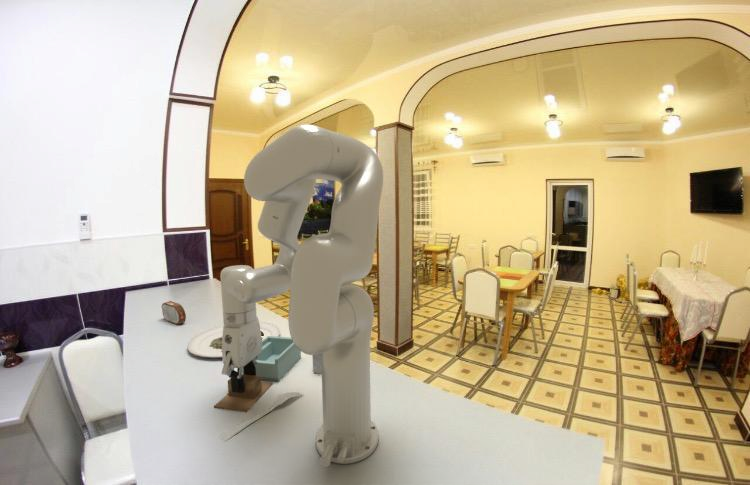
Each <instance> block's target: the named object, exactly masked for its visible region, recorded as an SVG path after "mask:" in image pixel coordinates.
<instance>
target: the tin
mask: <svg viewBox="0 0 750 485" xmlns="http://www.w3.org/2000/svg"><path fill="white" fill-rule="evenodd" d="M161 311H162V312H161V313H162V316H163V318H164V320H165V321H167V322H168V323H172V324H174V325H180V324H184V323H185V322H186V321H187V320H186V319H187V314H186V310H185V308H184V307H183V305H181V304H180V303H177V302H174V301H173V300H169V301H166V302H163V303H162V304H161Z"/></svg>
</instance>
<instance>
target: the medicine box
mask: <svg viewBox="0 0 750 485" xmlns="http://www.w3.org/2000/svg"><path fill="white" fill-rule="evenodd" d="M311 357H312V372H313V374H322V370H321V369H322V367H321V357H322V354H318V355H311Z"/></svg>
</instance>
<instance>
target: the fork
mask: <svg viewBox="0 0 750 485" xmlns="http://www.w3.org/2000/svg"><path fill="white" fill-rule="evenodd" d="M303 396H304V394H303V393H301V392H300V391H299V392H298V391H296V392H295V391H292V392H285V393H282V394H280V395H278V396H277V397H276V398H275V400H274V404H273V405H272V406H271V407H270V408H268V409H267V410H265V411H263V412H262V413H260V414H257V415H256V416H254V417H252V418H250V419H248V420H246V421H244V422H242V423H240V424H238V425H235V426H234V427H231V428H230V429H228V430H226V431H224V432H223V433H221V435H220V436H219V438H220V440H222V442H227V441H228V440H230V439H232V438H233V437H234V436H235V435H237V434H238V433H239V432H242V430H244V429H246V428H247V427H248V426H250V425H251V424H252V423H254V422H256V421H257V420H259V419H261V418H263V417H264V416H266V415H267V414H268V413H271V411H273V410H274V409H275V408H276V407H278V406H280V405H282V404H284V402H286V401H287V400H289V399H292V398H294V397H303Z"/></svg>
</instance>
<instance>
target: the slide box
mask: <svg viewBox="0 0 750 485" xmlns="http://www.w3.org/2000/svg"><path fill="white" fill-rule="evenodd" d="M301 353H302V352H301V351H300V350H299V349H298V348H297V347H296V346H295V344H294V342H293V340H292V338H291V337H289V336H279V337H277V336H267V337H266V338H265V339H263V340H262V351H261V353H260V354H259V355H258V356H257V359H256V361H257V364H256V376H261V381H265V382H273V383H274V382H275V383H279V382H280V381H281V380H282V379H283V378H284V377H285V376H286V375H287V374H288V372H289V371H291V369H292V368H293V367H294V366H295V365H296V364H297V363H298V362H299V361H300V360H301V358H302V354H301ZM242 374H244V370H243V367H242Z"/></svg>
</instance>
